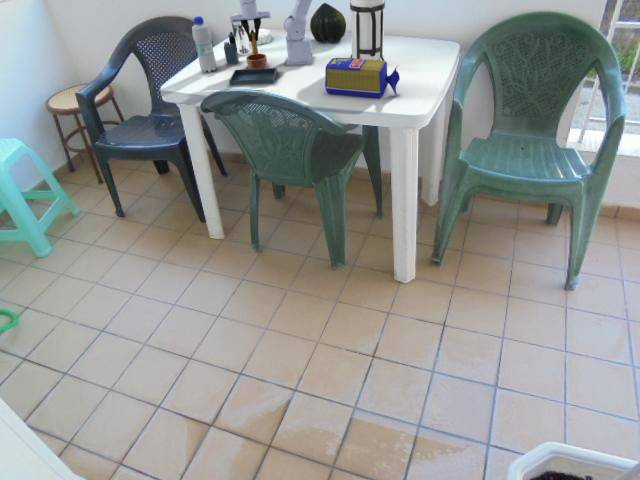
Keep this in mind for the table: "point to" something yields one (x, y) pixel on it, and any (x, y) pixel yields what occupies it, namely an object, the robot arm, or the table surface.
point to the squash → (327, 24)
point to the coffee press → (367, 29)
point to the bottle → (204, 45)
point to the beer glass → (241, 37)
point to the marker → (253, 42)
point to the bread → (359, 77)
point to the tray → (253, 76)
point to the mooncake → (263, 36)
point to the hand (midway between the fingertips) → (253, 40)
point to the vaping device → (231, 50)
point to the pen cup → (257, 61)
